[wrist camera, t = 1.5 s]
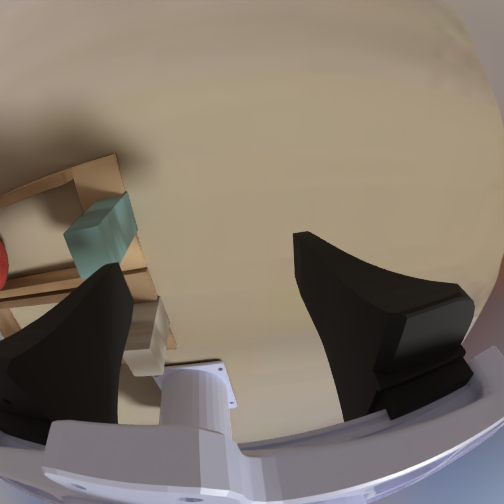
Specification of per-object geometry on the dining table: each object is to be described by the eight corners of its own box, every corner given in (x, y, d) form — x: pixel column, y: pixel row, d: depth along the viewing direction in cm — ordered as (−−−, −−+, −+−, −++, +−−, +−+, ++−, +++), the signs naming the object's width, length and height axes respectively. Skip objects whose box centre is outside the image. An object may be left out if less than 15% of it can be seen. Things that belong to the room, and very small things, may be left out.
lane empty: (178, 344, 26) (174, 395, 21) (31, 351, 25) (14, 388, 20) (149, 267, 22) (134, 317, 17) (-6, 292, 21) (-32, 328, 16)
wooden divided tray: (148, 263, 22) (132, 312, 16) (-8, 289, 21) (-34, 325, 15) (118, 152, 17) (82, 173, 12) (-39, 215, 16) (-75, 243, 11)
